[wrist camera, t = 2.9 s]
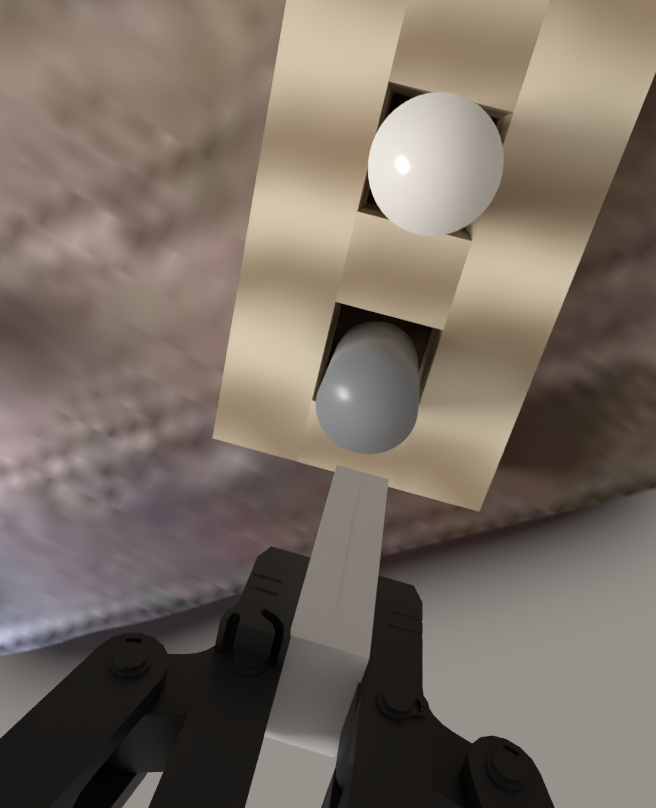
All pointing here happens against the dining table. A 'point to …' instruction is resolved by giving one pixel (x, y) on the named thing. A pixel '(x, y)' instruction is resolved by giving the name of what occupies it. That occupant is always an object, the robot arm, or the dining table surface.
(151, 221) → the dining table surface
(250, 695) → the robot arm
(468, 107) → the plug terracotta
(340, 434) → the grey plug
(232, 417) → the socket board
